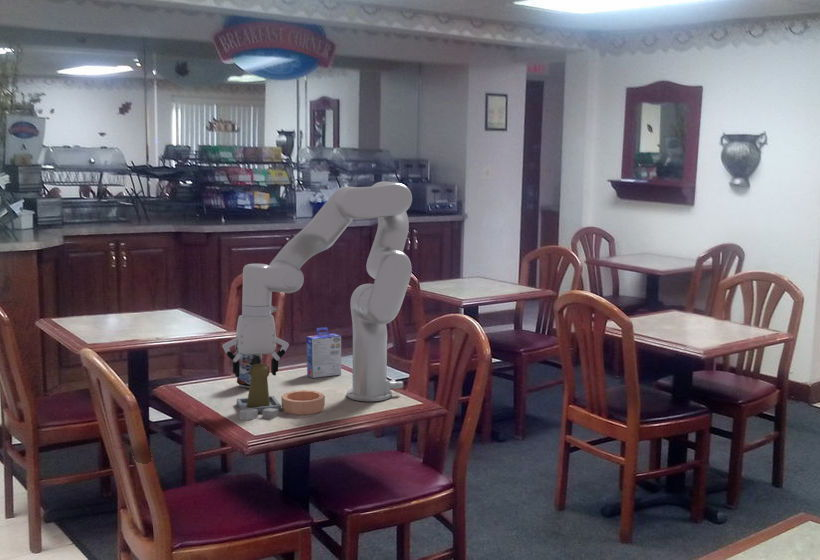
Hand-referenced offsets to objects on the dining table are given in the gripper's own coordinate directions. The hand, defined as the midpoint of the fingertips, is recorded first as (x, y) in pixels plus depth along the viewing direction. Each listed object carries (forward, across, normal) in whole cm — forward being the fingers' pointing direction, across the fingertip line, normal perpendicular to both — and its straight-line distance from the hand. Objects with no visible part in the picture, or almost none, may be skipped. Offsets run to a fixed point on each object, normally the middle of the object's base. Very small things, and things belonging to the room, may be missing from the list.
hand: (255, 375), depth 228 cm
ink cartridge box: (+8, -27, -29) cm, 40 cm away
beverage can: (+9, -3, -22) cm, 24 cm away
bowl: (+9, -12, +4) cm, 15 cm away
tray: (+9, -1, 0) cm, 9 cm away
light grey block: (+9, +3, +8) cm, 13 cm away
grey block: (+9, -3, +8) cm, 13 cm away
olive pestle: (+8, -1, 0) cm, 8 cm away
